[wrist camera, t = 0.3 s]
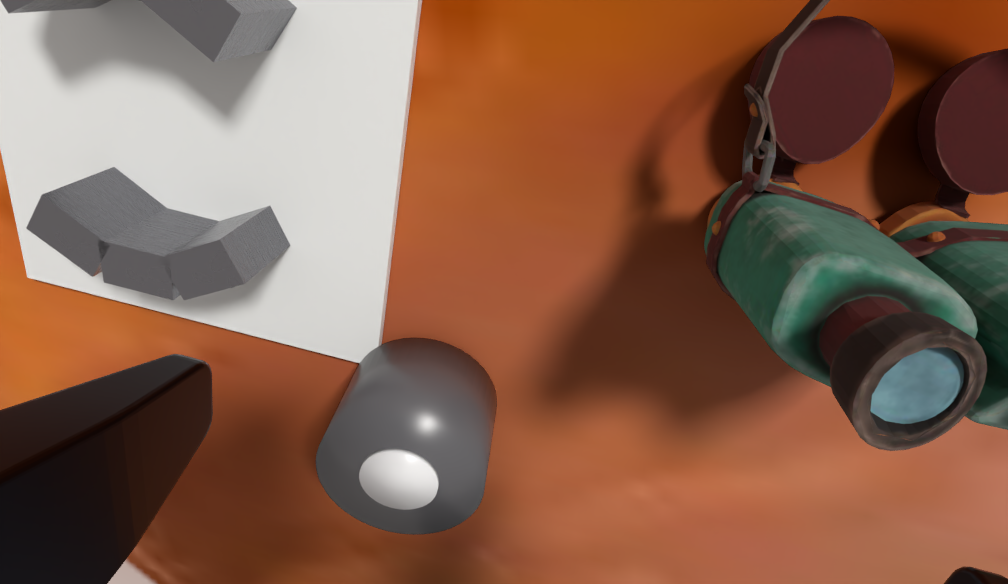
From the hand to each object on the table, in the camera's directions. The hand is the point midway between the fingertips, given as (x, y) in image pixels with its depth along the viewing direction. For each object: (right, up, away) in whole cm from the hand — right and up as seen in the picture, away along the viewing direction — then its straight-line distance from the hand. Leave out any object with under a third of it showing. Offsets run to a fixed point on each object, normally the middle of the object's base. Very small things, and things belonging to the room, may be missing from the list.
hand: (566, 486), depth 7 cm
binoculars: (+9, +7, +10) cm, 15 cm away
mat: (-11, +8, +13) cm, 18 cm away
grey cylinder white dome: (-4, -2, +16) cm, 17 cm away
